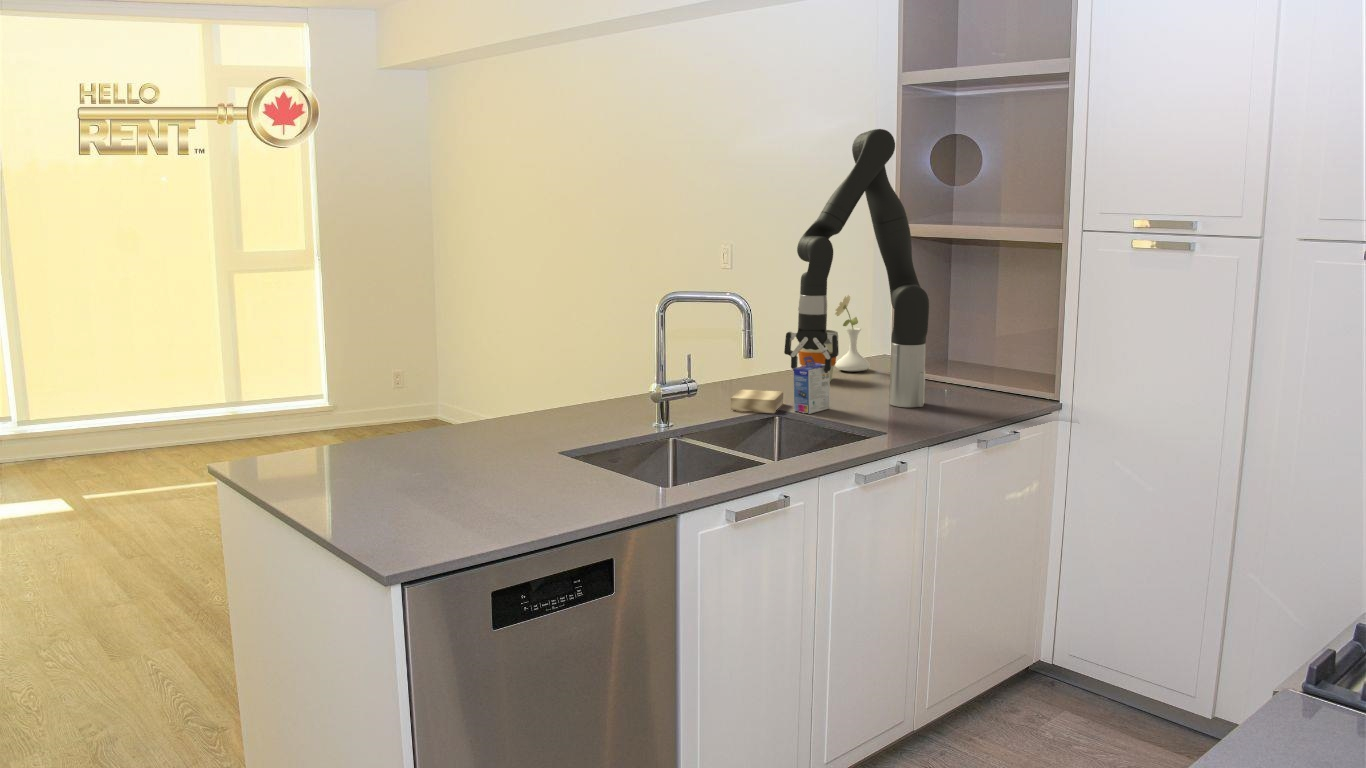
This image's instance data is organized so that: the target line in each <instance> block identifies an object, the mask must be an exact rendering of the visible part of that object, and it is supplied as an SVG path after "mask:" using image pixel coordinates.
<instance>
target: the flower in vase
mask: <svg viewBox="0 0 1366 768" xmlns="http://www.w3.org/2000/svg"><path fill="white" fill-rule="evenodd" d="M850 301H851V296H850V295H849V294H848V295H845V296H844V297H843V299H842V301H840V302H839V303H838V306H837V308H835V311H836V312H835V313H834V315H836V317H838V316H840V315H841V314H842V313H844V312H845V310H846V312H847V314H848V318H849V319H846V320H845V321H844V322H843V324H842V326H843V327H846V328H845V331H846V332H847V333H848V339H849V348H848V351H847V352H846V353H845V354H844V355H843V356H841V357H840V359H838V360H836V363H835V365H834V367H835V368H836V369H837V370H840V371H844V372H863V371H866V370H869V369H870V368H871V364H870V362H869V361H868V360H867V359H866V358H865V357H863V355H861V354H860V352H859V351H858V349H857V347H858V346H857V344H858V336H859V334H860V332H861V330H862V328H859V327H854V326H856V325H857V324H859V320H858V318H857V317H858V316H855V317H853V318H852V319H851V314H850V311H849V310H848V306H849V303H850ZM849 324H851V325H850V326H851V327H847V326H848V325H849Z"/></svg>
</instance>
